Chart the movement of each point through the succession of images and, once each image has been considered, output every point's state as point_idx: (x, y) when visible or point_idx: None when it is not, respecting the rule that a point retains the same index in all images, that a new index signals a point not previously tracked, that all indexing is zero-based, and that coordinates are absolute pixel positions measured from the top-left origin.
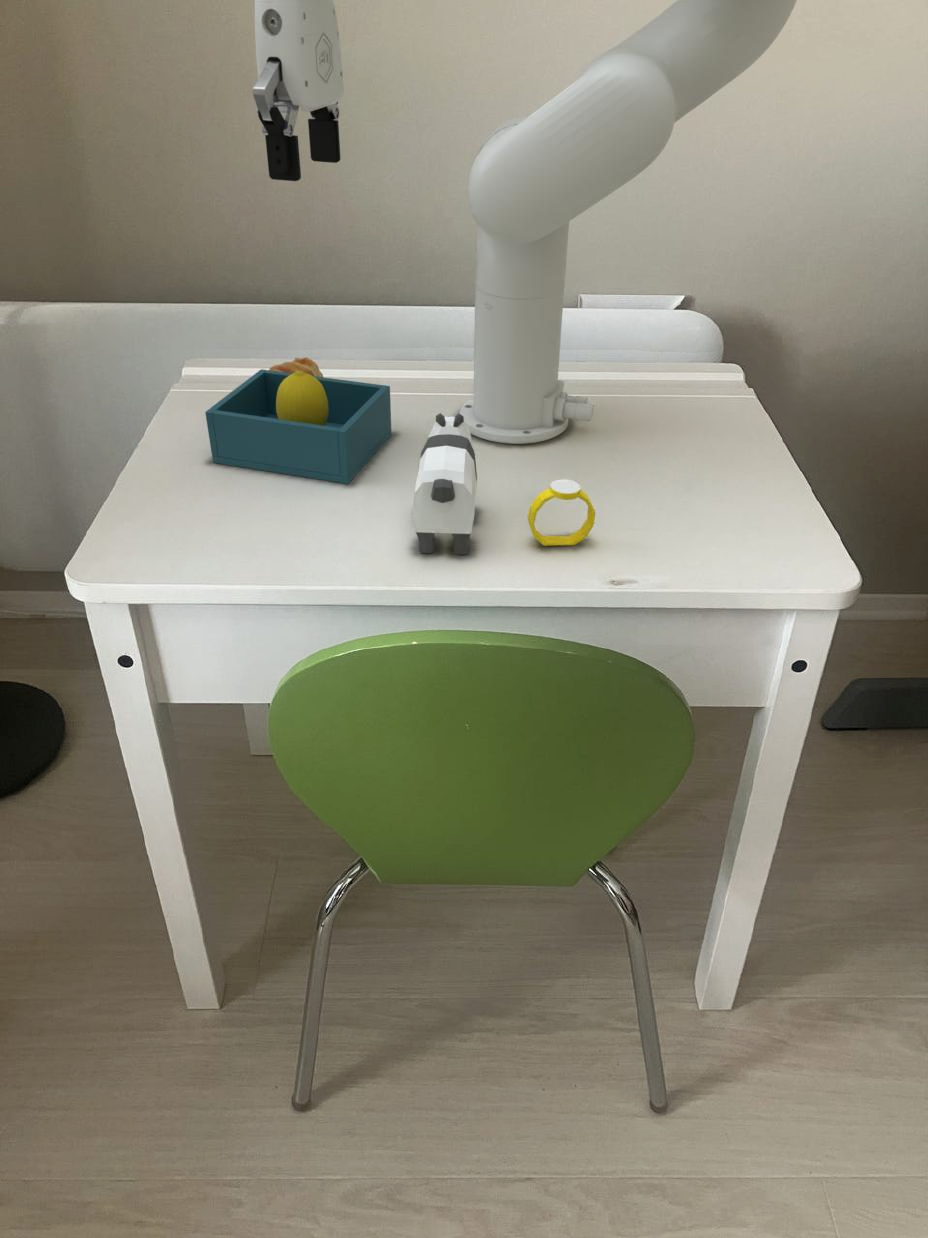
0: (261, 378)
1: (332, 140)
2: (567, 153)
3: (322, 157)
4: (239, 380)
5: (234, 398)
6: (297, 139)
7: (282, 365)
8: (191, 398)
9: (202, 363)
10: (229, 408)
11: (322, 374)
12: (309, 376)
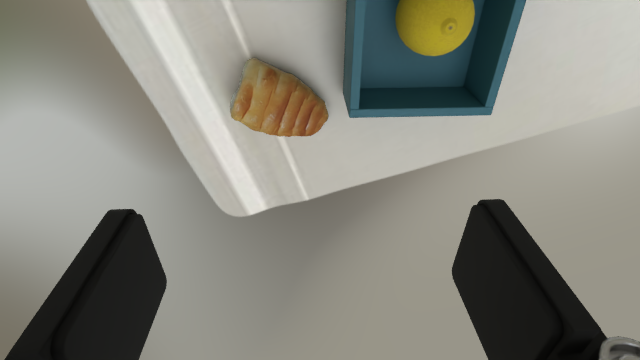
0: (366, 107)
1: (110, 280)
2: None
3: (153, 261)
4: (260, 164)
5: (439, 106)
6: (572, 312)
7: (272, 118)
8: (321, 182)
9: (236, 214)
10: (450, 103)
11: (246, 68)
12: (445, 10)
